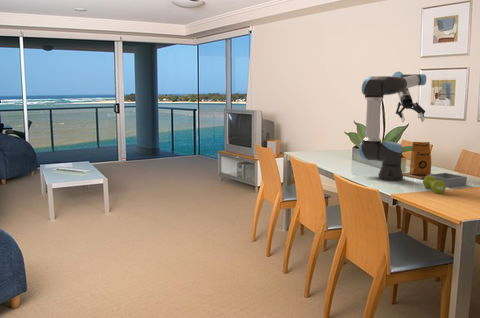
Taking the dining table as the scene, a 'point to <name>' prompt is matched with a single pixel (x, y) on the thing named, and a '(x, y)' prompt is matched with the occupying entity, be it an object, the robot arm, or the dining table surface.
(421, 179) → the board
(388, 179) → the robot arm
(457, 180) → the tray
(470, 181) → the dining table surface
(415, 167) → the coffee package
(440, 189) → the dumbbell
